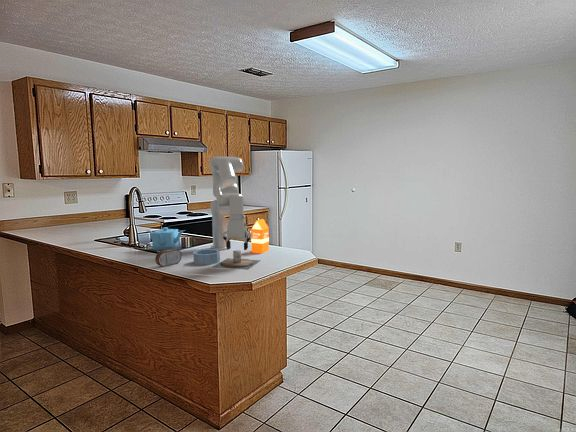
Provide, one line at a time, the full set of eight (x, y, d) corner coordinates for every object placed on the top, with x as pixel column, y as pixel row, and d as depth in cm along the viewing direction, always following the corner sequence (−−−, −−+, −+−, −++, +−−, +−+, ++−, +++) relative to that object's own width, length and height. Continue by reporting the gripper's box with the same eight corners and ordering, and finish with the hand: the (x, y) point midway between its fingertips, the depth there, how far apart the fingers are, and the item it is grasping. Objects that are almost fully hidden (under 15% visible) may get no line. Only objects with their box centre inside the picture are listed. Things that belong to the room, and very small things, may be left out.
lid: (228, 259, 220) (228, 247, 219) (257, 260, 215) (257, 248, 214) (215, 266, 203) (215, 253, 202) (246, 268, 199) (246, 255, 198)
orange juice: (251, 252, 240) (250, 220, 238) (258, 249, 248) (258, 218, 246) (262, 253, 237) (262, 220, 234) (269, 250, 245) (269, 219, 242)
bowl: (201, 258, 222) (201, 248, 222) (223, 260, 219) (223, 249, 218) (188, 264, 209) (188, 253, 208) (212, 266, 205) (212, 255, 205)
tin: (179, 261, 216) (178, 247, 215) (182, 262, 214) (182, 247, 213) (155, 267, 204) (154, 251, 203) (158, 268, 202) (157, 252, 201)
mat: (227, 259, 221) (227, 258, 221) (260, 261, 216) (260, 260, 216) (211, 268, 202) (211, 266, 202) (247, 270, 197) (247, 269, 197)
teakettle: (172, 246, 258) (171, 224, 256) (187, 250, 245) (186, 227, 243) (145, 250, 245) (143, 227, 243) (158, 255, 232) (157, 230, 230)
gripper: (254, 217, 207) (254, 248, 209) (224, 216, 212) (225, 247, 214) (249, 218, 200) (249, 251, 202) (218, 218, 205) (219, 250, 206)
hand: (237, 249), depth 208 cm, fingers open, 9 cm apart
